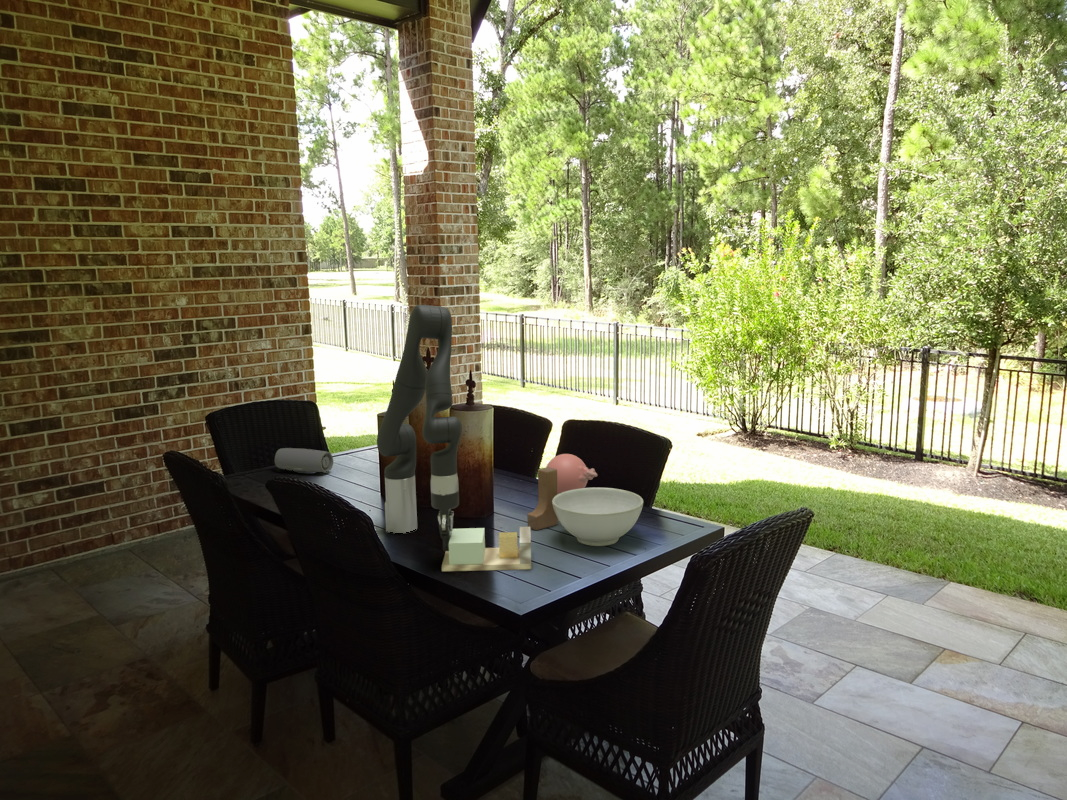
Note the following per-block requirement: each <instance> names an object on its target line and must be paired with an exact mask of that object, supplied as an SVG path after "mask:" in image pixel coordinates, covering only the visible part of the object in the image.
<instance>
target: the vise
mask: <svg viewBox="0 0 1067 800" xmlns="http://www.w3.org/2000/svg"><path fill="white" fill-rule="evenodd" d="M531 535H532V534H531V528H530V527H528V526H519V546H518V558H499V547H485V553H484V560H483V564H462V565H449V551H444V552H445V553H444V557H443V559H442V564H441V572H468V571H469V572H471V571H472V572H474V571H505V570H506V571H507V570H508V571H510V570H511V571H512V570H514V571H515V570H517V571H518V570H532V545H531V544H532V541H531V539H532V538H531Z"/></svg>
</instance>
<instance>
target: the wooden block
mask: <svg viewBox="0 0 1067 800" xmlns="http://www.w3.org/2000/svg"><path fill="white" fill-rule="evenodd" d="M537 482H538V483H537V486H538V487H537V489H538V491H537V492H538V495H537V496H538V499H537V500H538V501H537V505H536V507H535V508H534V510H533V511H531V512H528V513H527V527H530V530H533V531H538V530H543V529H546V528H550V527H553V526H558V525H559V519H558V518H557V516H556V513H555V511H554V508H553V504H552V500H553V498H554V497H555V496H556V495H558V492H557V469H553V468H550V467H542V468H539V469H537Z"/></svg>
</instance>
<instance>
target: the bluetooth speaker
mask: <svg viewBox="0 0 1067 800" xmlns="http://www.w3.org/2000/svg"><path fill="white" fill-rule="evenodd" d="M333 457H334V456H333V455H332V453H331V452H330V451H326V450H317V449H311V448H293V447H285V448H284V447H282V448H279V449H278V450H277V451H276V452H275V456H274V465H275V466H276V467H277V468H278V469H282V470H285V469H286V470H287V471H292V470H293V471H306V472H323V473H327V472H326V471H329V470H330V471H331V470H332V468H333V465H334V458H333ZM286 470H285V471H286ZM293 471H292V472H293ZM330 471H329V472H330Z"/></svg>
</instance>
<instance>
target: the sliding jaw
mask: <svg viewBox="0 0 1067 800" xmlns="http://www.w3.org/2000/svg"><path fill="white" fill-rule="evenodd" d="M451 533H452V535H451V538H450V540H449V565H462V564H483V560H484V553H485V548H486V538H485V536H486V534H485V527H476V528H475V527H469V528H452V532H451Z"/></svg>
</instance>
